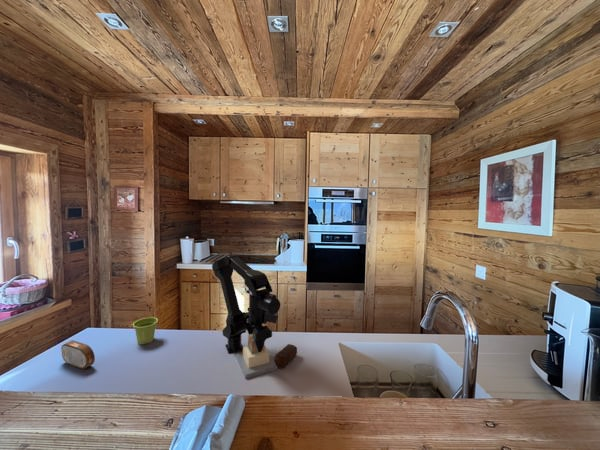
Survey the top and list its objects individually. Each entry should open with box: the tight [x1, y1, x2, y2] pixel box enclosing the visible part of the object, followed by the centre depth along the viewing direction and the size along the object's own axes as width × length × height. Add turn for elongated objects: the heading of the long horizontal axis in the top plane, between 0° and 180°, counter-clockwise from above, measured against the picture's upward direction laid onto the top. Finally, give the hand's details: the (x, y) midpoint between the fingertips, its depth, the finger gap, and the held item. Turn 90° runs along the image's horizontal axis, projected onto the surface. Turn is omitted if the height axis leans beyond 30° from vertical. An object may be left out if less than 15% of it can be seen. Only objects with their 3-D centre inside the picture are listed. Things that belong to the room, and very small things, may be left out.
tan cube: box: [247, 334, 266, 354], centre depth 96 cm, size 5×5×5 cm
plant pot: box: [132, 317, 159, 345], centre depth 110 cm, size 9×9×9 cm
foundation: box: [235, 344, 278, 380], centre depth 96 cm, size 14×12×6 cm
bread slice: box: [61, 339, 96, 370], centre depth 92 cm, size 15×3×8 cm, turn 71°
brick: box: [274, 343, 298, 370], centre depth 98 cm, size 11×4×5 cm, turn 151°
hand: (256, 345), depth 96 cm, fingers open, 9 cm apart
